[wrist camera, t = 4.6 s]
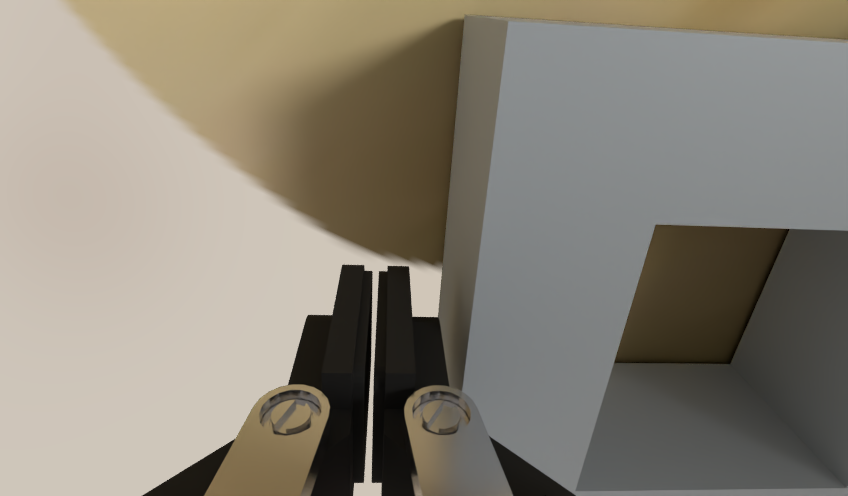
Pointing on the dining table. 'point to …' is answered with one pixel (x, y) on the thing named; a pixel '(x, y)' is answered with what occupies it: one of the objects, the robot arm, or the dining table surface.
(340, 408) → the robot arm
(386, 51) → the dining table surface
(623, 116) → the socket block
